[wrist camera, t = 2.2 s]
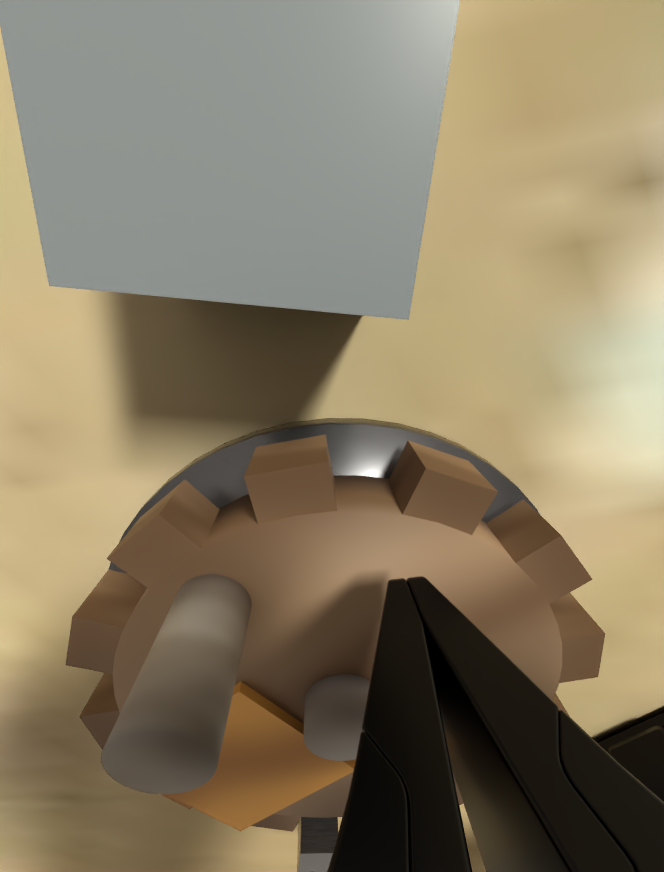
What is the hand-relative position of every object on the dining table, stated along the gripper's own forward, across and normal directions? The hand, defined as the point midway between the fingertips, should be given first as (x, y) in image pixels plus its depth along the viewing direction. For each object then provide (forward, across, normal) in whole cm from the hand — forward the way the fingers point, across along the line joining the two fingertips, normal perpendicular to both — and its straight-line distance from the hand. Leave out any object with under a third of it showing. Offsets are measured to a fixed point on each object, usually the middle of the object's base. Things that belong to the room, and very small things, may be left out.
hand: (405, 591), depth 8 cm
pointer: (+4, +4, +16) cm, 17 cm away
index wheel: (+4, +2, +5) cm, 7 cm away
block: (+4, +2, -9) cm, 10 cm away
